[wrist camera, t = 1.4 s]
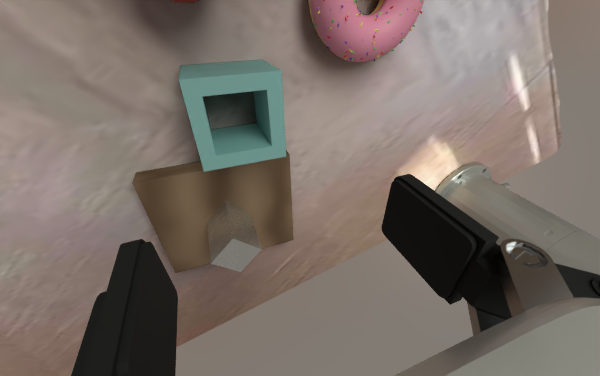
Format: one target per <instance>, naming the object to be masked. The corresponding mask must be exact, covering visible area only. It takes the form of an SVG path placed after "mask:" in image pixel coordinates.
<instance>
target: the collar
mask: <svg viewBox="0 0 600 376" xmlns="http://www.w3.org/2000/svg"><path fill="white" fill-rule="evenodd" d="M179 83H180V87H181V90H182V94H183V98H184V101H185V105H186V109H187V112H188V116H189V119H190V123H191V127H192V130H193V134H194V138H195V141H196V145H197V148H198V152H199V156H200V159H201V163H202V167H203V170H204V172H205V171H211V170H216V169H222V168H227V167H232V166H238V165H243V164H249V163H254V162H260V161H265V160H270V159H276V158H281V157H286V143H285V125H284V107H283V89H282V71H281V70H279V69H278V68H276V67H274V66H273V65H271V64H269V63H268V62H266V61H264V60H250V61H236V62H223V63H209V64H195V65H182V66H181V67H180V74H179ZM250 91H253V93H254V101H255V110H256V118H257V123H253V124H246V125H239V126H232V127H225V128H218V129H211V128H210V123H209V119H208V115H207V111H206V106H205V102H204V98H203V96H212V95H222V94H231V93H240V92H250Z"/></svg>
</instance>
